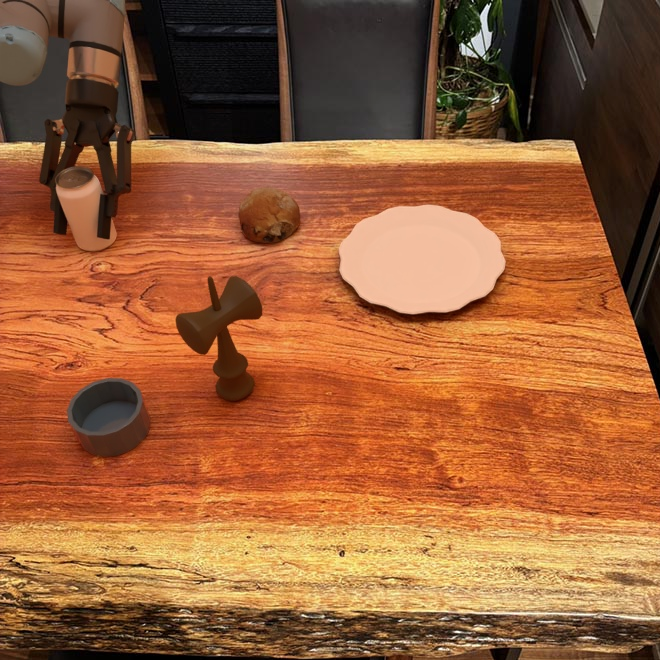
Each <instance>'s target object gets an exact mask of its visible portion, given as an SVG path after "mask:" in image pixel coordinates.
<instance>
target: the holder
mask: <svg viewBox="0 0 660 660" xmlns="http://www.w3.org/2000/svg"><path fill="white" fill-rule="evenodd" d="M66 416H67V422H68V424H69V426H70V428H71V431H72V432H73V434H74V436H75V438H76V440H77V442H79V444H80V446H81V447H82V449H84V451H86V452H88V453H89V454H91V455H93V456H97V457H102V458H103V457H105V458H110V457H116V456H121V455H123V454H127V453H128V452H130V451H131V450H134V449H136V447H138V445H140V444H141V443H142V442H143V441H144V440H145V438H146V437H147V435H148V434H149V431H150V428H151V416H150V414H149V409H148V406H147V404H146V401H145V398H144V395H143V393H142V391H141V389H140V388H139V387H138V386H137V385H136V384H135V383H134V382H132V381H131V380H128V379H127V380H126V379H124V378H121V377H120V378H119V377H107V378H106V377H105V378H102V379H99V380H96V381H92V382H91V383H89V384H87V385H85V386H84V387H82V388H80V389H79V390H78V391H77V393H75V394H74V396H73V397H72V398H71V399H70V401H69V404H68V407H67V409H66Z"/></svg>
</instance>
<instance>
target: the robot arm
mask: <svg viewBox="0 0 660 660" xmlns="http://www.w3.org/2000/svg"><path fill="white" fill-rule="evenodd" d="M125 19H126V0H0V82H1V83H3V84H5V85H9V86H18V87H21V86H26V85H29V84H32V83H33V82H34V81H36V80H37V79H38V78H39V76H40V75H41V74H42V71H43V67H44V65H45V64H46V61H47V56H48V46H49V45H48V44H49V38H50V37H53V38H57V39H64V40H65V39H67V40H69V47H68V49H69V50H68V57H67V58H68V60H67V70H66V77H68V79H69V80H68V81H66V85H65V99H64V104H65V112H64V114H63V116H62V117H61V118H60V119H55V120H52V119H49V118H47V119H45V120H44V129H45V134H46V135H45V141H44V147H43V153H42V161H41V167H40V172H39V180H38V181H39V184H41V185H43V186H45V187H47V188H49V189H50V202H49V204H50V205H49V208H50V211H51V212H54V214H53V215H54V216H53V227H52V233H53V234H57V235H61V236H68V226H69V224H68V221H67V218H66V216H65V213H64V211H63V208H62V206H61V203H60V200H59V198H58V195H57V192H56V182H55V179H56V176H57V175H58V174H59V173H60V172H61V171H63V170H65V169H67V168H70V167H74V166H76V164H77V162H78V159H79V157H80V154H81V153H82V152H83V151H84V148H88V147H93V149H94V151H95V153H96V158H97V161H98V165H99V171H100V174H101V178H102V182H103V188H104V190H103V193H104V194H100V203H99V216H98V229H97V237H98V238H103V239H110V230H111V217H112V218H115V219H116V217H117V215H118V205H119V198H120V196H123V195H128V194H130V193H131V192H132V144H133V140H134V137H135V135H136V131H135V130H134V129H133V128H131V127H129V126H128V125H126V124H119V122H118V119H117V112H118V106H119V105H118V104H119V94H120V93H119V91H118V89H117V88H118V87H119V86H120V78H121V66H122V65H121V64H122V54H123V53H122V52H123V50H122V49H123V41H124V31H125V21H126V20H125ZM65 130H66V132H67V136H66V138H65V141H64V148H63V152H62V153H61V147H62V140H63V136H62V135H64V133H65ZM114 134H115V137H116V169H115V165H114V161H113V156H112V152H113V151H112V147H111V143H110V139H111V138H112V137H113V136H114ZM60 154H61V156H60Z"/></svg>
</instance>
